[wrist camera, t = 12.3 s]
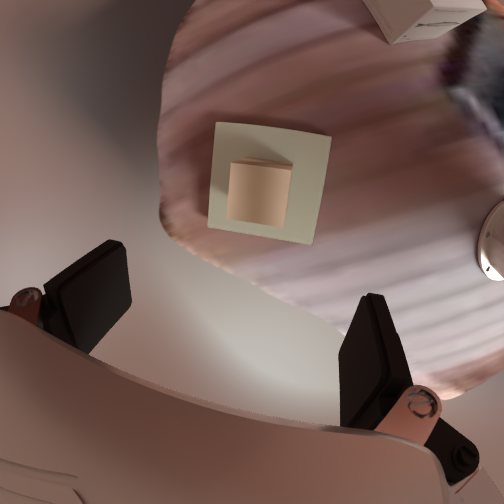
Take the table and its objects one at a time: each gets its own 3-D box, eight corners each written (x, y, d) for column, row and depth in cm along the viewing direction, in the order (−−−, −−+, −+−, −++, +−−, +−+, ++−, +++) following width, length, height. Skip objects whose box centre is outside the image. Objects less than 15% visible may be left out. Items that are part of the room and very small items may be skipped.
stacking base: (329, 136, 27) (331, 137, 25) (311, 237, 32) (311, 245, 30) (222, 122, 28) (215, 121, 26) (213, 220, 34) (207, 227, 31)
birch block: (293, 163, 27) (291, 170, 21) (286, 209, 29) (282, 227, 24) (245, 156, 27) (230, 162, 22) (240, 202, 29) (226, 218, 24)
